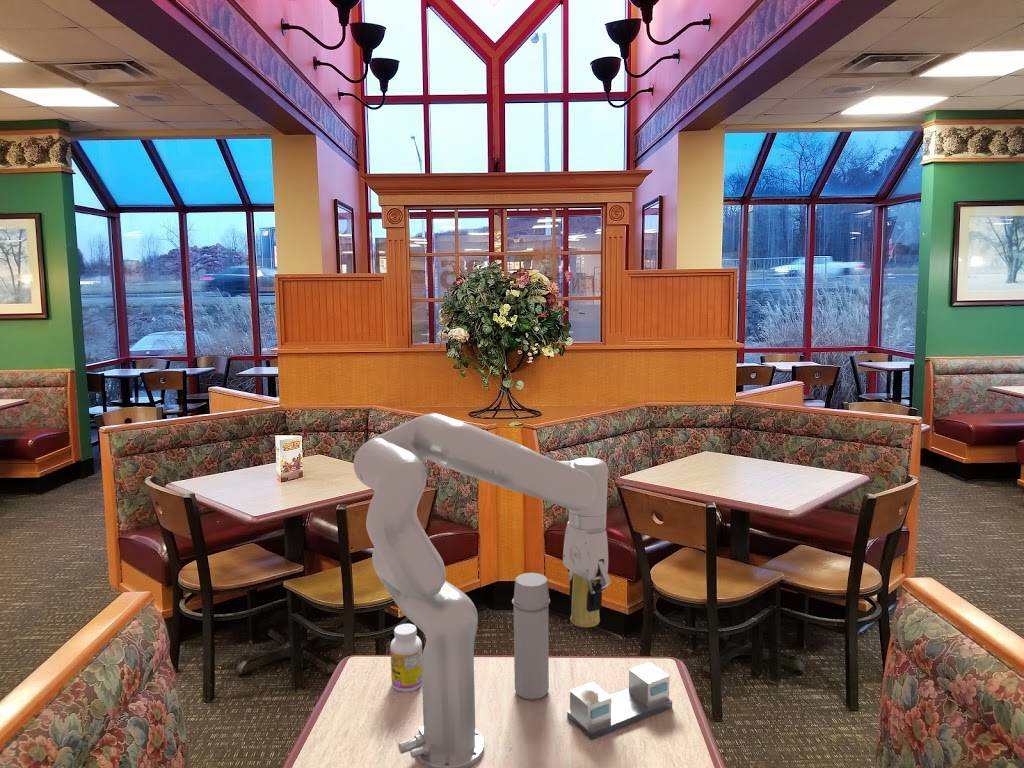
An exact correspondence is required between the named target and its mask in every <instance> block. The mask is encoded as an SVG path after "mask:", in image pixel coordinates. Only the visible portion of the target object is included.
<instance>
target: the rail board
mask: <svg viewBox="0 0 1024 768" xmlns="http://www.w3.org/2000/svg"><path fill="white" fill-rule="evenodd" d="M569 700H570V701H569V710H567V711H566V714H567V715H566V718H567V719H568V720H569V721H570V722H571V723H572V724H573V725H574V726H575V727H576V728H577V729H578V730H580V732H581V733H582V734H584V735H585V736H586V737H587V739H589V740H590V741H594V740H596V739H597V738H600V737H603V736H606V735H608V734H610V733H613V732H615V731H617V730H620V729H622V728H625V727H627V726H630V725H633V724H635V723H638V722H640V721H643V720H645V719H648V718H651V717H653V716H655V715H658V714H659V713H663V712H665V711H667V710H671V709H673V700H671V699H670V675H669V674H668V673H667V672H665V671H664V670H662V669H661V668H660V667H659V666H657V665H655V664H654V663H652V662H651V661H648V662H645V663H643V664H640V665H637V666H635V667H632V668H629V669H628V687H627V688H626V689H623V690H619V691H617V692H615V693H612V694H608V693H607V692H606V691H604V689H602V688H601V687H600V686H599V685H597V684H596V683H595V682H593V681H592V682H589V683H587V684H584V685H581V686H578V687H576V688H572V689H570V690H569Z"/></svg>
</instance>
